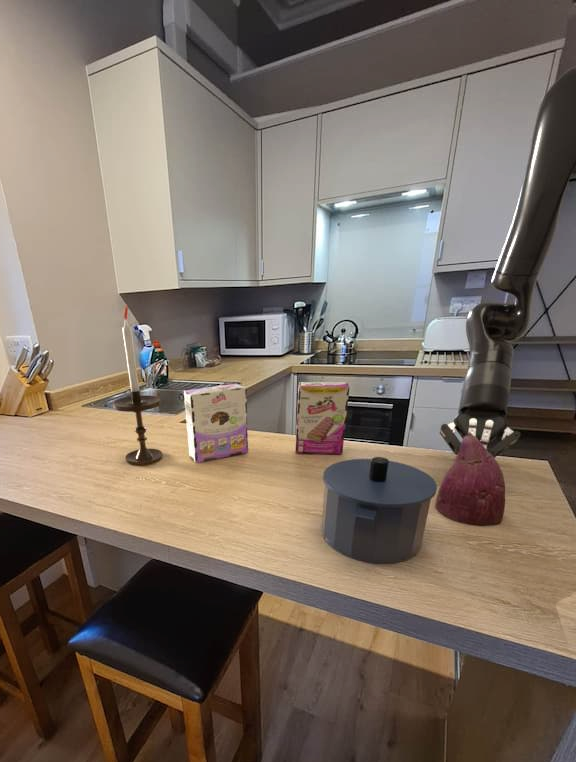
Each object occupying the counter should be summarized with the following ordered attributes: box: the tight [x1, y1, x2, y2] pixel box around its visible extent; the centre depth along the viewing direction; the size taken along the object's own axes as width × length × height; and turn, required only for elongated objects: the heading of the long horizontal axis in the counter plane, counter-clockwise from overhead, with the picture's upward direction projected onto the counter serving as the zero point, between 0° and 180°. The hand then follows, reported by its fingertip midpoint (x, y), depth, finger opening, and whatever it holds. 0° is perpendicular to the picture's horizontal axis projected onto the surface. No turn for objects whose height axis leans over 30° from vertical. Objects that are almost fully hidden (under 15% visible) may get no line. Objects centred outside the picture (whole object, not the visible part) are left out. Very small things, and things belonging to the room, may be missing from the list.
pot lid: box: [322, 456, 438, 507], centre depth 58 cm, size 16×16×4 cm
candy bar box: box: [295, 381, 350, 455], centre depth 92 cm, size 11×5×16 cm, turn 80°
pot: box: [320, 484, 432, 565], centre depth 60 cm, size 15×20×10 cm
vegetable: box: [434, 432, 506, 526], centre depth 66 cm, size 10×10×15 cm
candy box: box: [183, 383, 249, 464], centre depth 93 cm, size 14×6×16 cm, turn 111°
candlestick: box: [112, 303, 164, 467], centre depth 90 cm, size 11×11×35 cm
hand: (470, 476), depth 70 cm, fingers closed
